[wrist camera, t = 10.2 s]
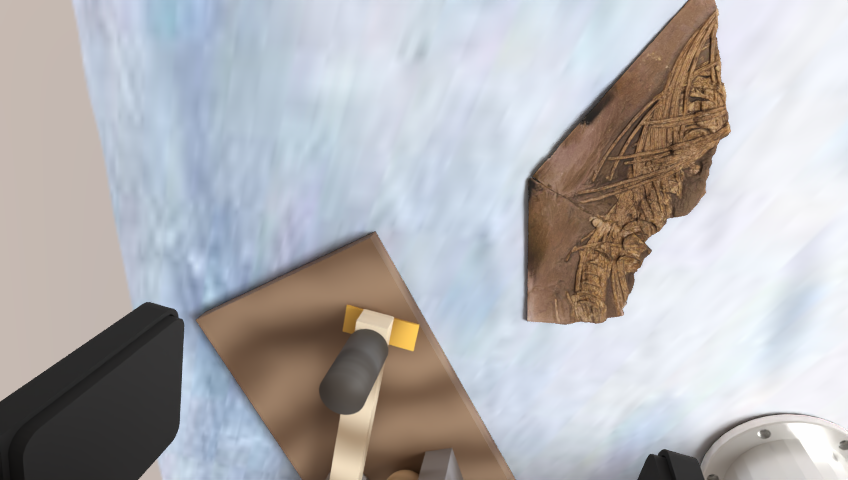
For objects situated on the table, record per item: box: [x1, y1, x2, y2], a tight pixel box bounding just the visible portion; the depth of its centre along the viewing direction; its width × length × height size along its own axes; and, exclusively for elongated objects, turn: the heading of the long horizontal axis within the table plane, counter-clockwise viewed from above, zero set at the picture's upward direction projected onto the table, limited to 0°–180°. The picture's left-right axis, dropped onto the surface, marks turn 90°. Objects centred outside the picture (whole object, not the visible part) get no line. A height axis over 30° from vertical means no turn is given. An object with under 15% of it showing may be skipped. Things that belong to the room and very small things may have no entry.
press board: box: [196, 232, 516, 480], centre depth 48 cm, size 26×18×6 cm
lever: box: [319, 309, 394, 480], centre depth 45 cm, size 22×4×8 cm, turn 169°
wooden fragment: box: [527, 0, 731, 325], centre depth 40 cm, size 26×11×1 cm, turn 156°
